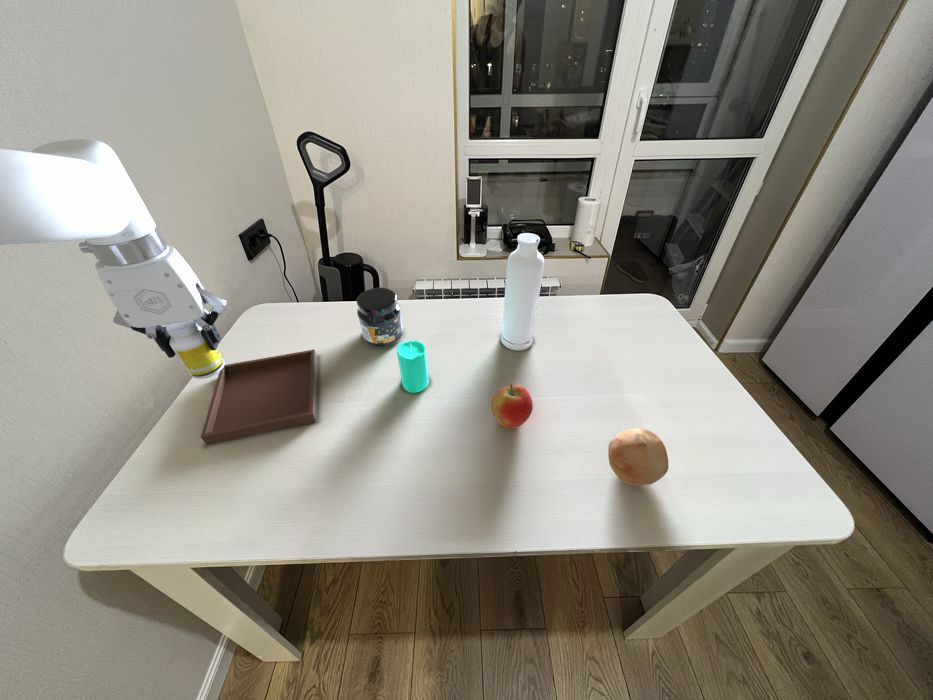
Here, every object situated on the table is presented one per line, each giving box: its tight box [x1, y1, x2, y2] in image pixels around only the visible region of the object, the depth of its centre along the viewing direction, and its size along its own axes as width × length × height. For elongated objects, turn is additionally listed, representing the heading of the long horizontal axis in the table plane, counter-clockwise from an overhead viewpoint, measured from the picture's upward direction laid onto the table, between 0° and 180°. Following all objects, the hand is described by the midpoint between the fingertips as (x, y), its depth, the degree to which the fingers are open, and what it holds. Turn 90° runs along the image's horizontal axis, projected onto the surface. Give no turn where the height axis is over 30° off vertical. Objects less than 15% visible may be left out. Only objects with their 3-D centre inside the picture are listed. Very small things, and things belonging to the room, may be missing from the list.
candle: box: [396, 339, 429, 394], centre depth 82 cm, size 6×6×12 cm
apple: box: [490, 384, 534, 429], centre depth 75 cm, size 8×8×10 cm
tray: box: [200, 348, 318, 446], centre depth 82 cm, size 21×21×3 cm
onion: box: [607, 427, 669, 486], centre depth 66 cm, size 10×10×10 cm
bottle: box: [500, 232, 545, 351], centre depth 89 cm, size 8×8×28 cm
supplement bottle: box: [165, 320, 225, 380], centre depth 62 cm, size 5×5×10 cm
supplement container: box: [356, 287, 404, 348], centre depth 95 cm, size 10×10×12 cm
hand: (194, 347), depth 62 cm, fingers closed on supplement bottle, 5 cm apart
